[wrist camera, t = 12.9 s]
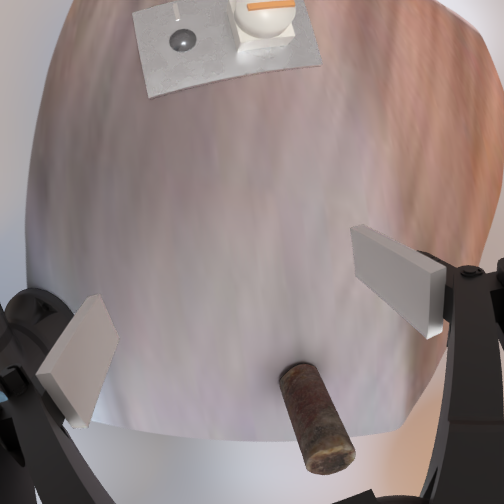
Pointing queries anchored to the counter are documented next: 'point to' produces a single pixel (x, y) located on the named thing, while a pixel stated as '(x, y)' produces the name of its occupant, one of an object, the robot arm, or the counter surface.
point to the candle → (316, 421)
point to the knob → (261, 23)
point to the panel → (210, 46)
